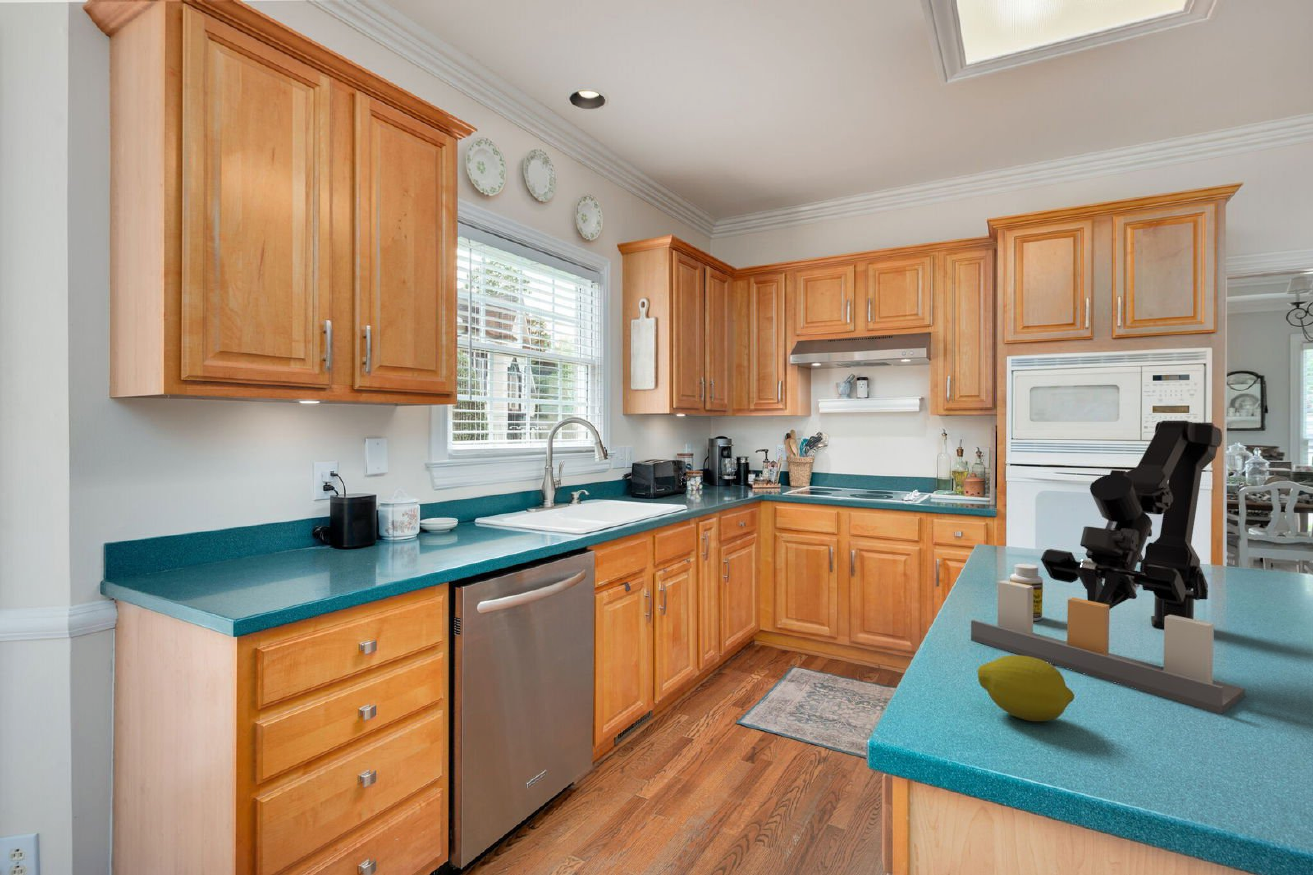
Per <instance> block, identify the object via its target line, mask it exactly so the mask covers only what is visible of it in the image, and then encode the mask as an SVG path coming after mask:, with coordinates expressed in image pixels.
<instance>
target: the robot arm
mask: <svg viewBox="0 0 1313 875" xmlns="http://www.w3.org/2000/svg"><path fill="white" fill-rule="evenodd" d="M1222 442H1223V434H1222V430H1221V428H1219V427H1217V426H1215V424H1214V423H1213V422H1212V421H1211V422H1208V421H1207V422H1205V421H1204V422H1200V421H1199V422H1193V421H1188V420H1161V421H1158V422H1156V425H1155V427H1154V435H1153V437H1152V439H1151V440H1150V442H1149V444H1148V446H1147V447H1146V450H1145V452H1144V453H1143V455H1142V457H1141V458H1140V460H1139V463H1138V464H1137V466H1136V467H1134V468H1132V469H1130V470H1127V471H1126V470H1119V469H1118V470H1116V469H1111V470H1110V473H1109V474H1107V475H1103V476H1101V477H1098V478H1096V479H1095V480H1094V481H1093V482H1091V484H1090V486H1089V491H1090V494H1091V496H1092V498H1093V500H1094V503H1095V504H1096V507H1097V509H1098V511H1099V513H1100V515H1101V517H1102V518H1104V519H1105V520H1108V521H1107V523H1106V526H1105V528H1104V527H1102V528H1101V527H1095V526H1087V525H1086V526H1084V527H1083V529H1082V530H1083V531H1082V534H1081V539H1080V544H1079V546H1080V547H1083V548H1085V549H1086V552H1085V556H1086V558H1087V559H1088V560H1087V559H1081V560H1080V561H1077V560H1076V559H1075V557H1074V554H1073V553H1072V552H1071V551H1066V550H1058V549H1053V548H1049V549H1046V550H1044V552H1043V554H1042V555H1041V558H1040V560H1041V562H1042V565H1043V566H1044V568H1045V570H1046V572H1047V573H1048V576H1049V577H1050V578H1051V579H1053V580H1054V581H1059V582H1064V583H1070V584H1071V583H1074V582H1076V581H1078V580H1080V582H1081V583H1082V585H1083V588H1084V589H1085V590H1086V595H1087V596H1086V600H1088V601H1093V602H1098V603H1102V604H1107V605H1109V611H1110V610H1111V609H1113V608H1114V607H1117V606H1118V605H1119V604H1121V603H1124V602H1126V601H1127V600H1129V599H1131V600H1137V597H1138V595H1137V590H1138V588H1139V587H1140V586H1142V591H1146V592H1147V591H1148V592H1152V593H1153V595H1154V610H1153V612H1154V615H1151V616H1150V621H1151V626H1152V627H1154V628H1159V629H1164V618H1165V616H1168V615H1175V616H1180V617H1184V618H1189V619H1194V615H1195V612H1194V611H1195V601H1201V600H1204V601H1205V600H1206V601H1207V600H1208V598H1209V597H1208V595H1209V594H1208V593H1209V589H1208V588H1209V585H1208V581H1207V579H1206V577H1205V574H1204V572H1203V569H1202V567H1201V566H1200V565H1201V560H1200V557H1199V555H1198V553H1197V552H1196V551H1195V549H1194V546H1192V540H1193V533H1194V527H1195V519H1196V514H1197V506H1198V500H1199V495H1200V494H1199V492H1200V488H1201V480H1202V473H1203V470H1204V469H1206V467H1207V466H1208V465H1210V464H1211V462H1213V461H1214V460H1215V459H1216V455H1217V452H1218V451H1217V450H1218V448H1220V447H1221V445H1222ZM1149 514H1150V515H1160V516H1161V515H1162V520H1161V525H1160V534H1159V536H1158V538H1157V539H1156V540H1154V541H1153V542H1148V543H1147V544H1146V541H1147V538H1148V537H1153V536H1152V535H1153V530H1152V526H1153V520H1152V519H1151V517H1150V516H1149ZM1145 545H1146V546H1145ZM1144 547H1145V551H1144V552H1145V553H1144V557H1143V555H1142V553H1143V552H1142V551H1143V549H1144ZM1089 559H1090V560H1089ZM1138 563H1140V565H1139V570H1136V567H1137V565H1138ZM1103 581H1104V582H1103ZM1194 620H1195V619H1194Z"/></svg>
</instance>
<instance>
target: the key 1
mask: <svg viewBox="0 0 1313 875" xmlns="http://www.w3.org/2000/svg"><path fill="white" fill-rule="evenodd" d="M1033 589H1034V586H1029V585H1025V584H1020V583H1015V582H1010V580H999V581H998V582H997V626H998V627H1002V628H1006V629H1009V630H1013V631H1017V632H1021V633H1024V634H1028V635H1032V636H1033V633H1034V621H1033Z"/></svg>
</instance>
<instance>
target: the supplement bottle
mask: <svg viewBox="0 0 1313 875" xmlns="http://www.w3.org/2000/svg"><path fill="white" fill-rule="evenodd" d="M1009 581H1010V582H1015V583H1020V584H1025V585H1029V586H1034V589H1033V622H1037V621H1041V619H1042V618H1043V595H1044V594H1043V589H1044V588H1043V587H1044V586H1043V584H1044V583H1043V581H1044V580H1043V577H1042V576H1040V575H1039V567H1038V566H1037V565H1035V564H1028V563H1017V564H1015V565H1014V573H1011V575H1010V576H1009Z"/></svg>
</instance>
